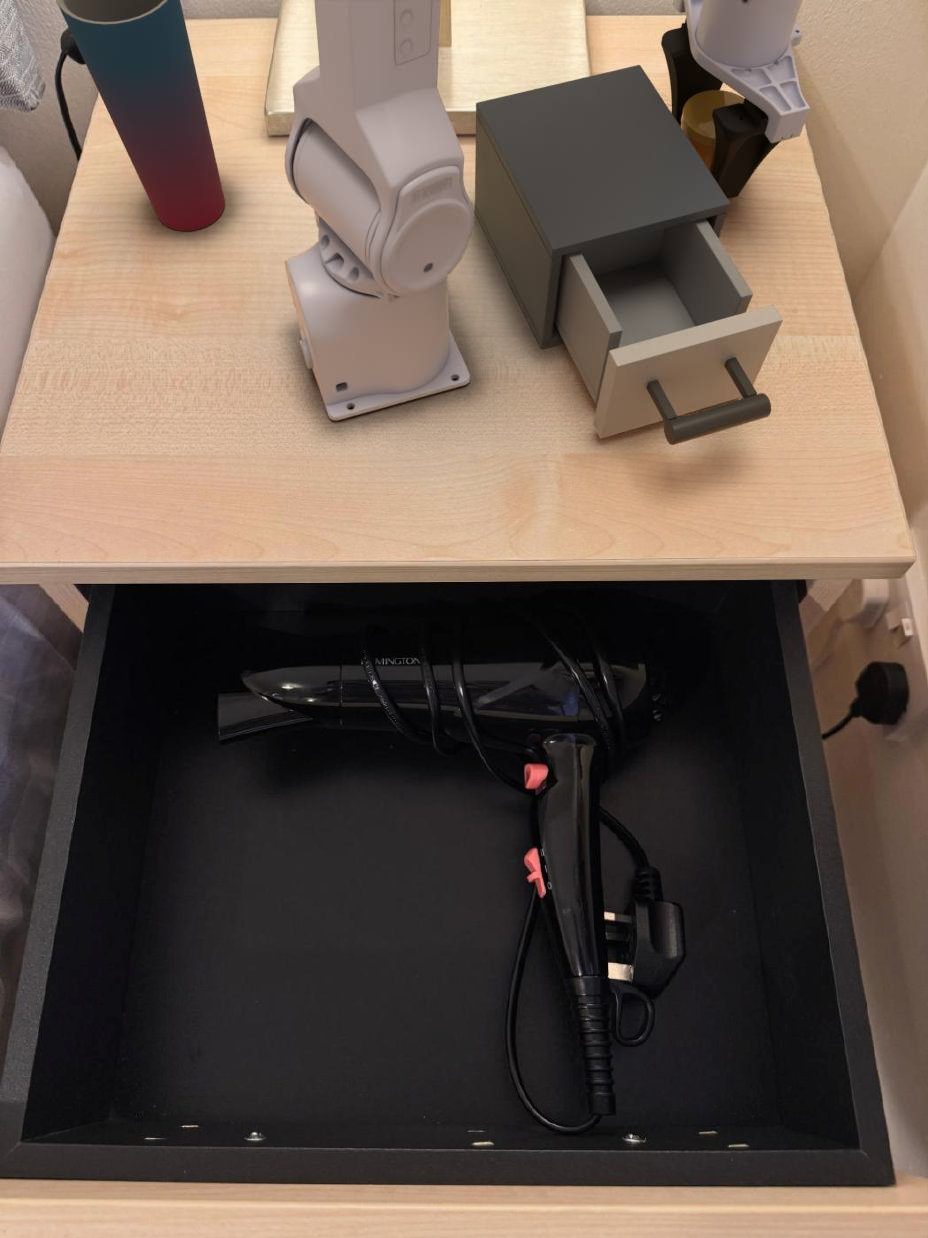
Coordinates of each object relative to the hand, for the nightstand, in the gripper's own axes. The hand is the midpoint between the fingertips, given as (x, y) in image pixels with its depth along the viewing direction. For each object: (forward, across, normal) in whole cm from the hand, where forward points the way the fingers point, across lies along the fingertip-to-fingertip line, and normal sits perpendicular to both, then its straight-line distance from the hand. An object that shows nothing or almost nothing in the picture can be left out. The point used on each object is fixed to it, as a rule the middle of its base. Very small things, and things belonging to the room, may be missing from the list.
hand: (704, 166), depth 63 cm
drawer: (+1, -15, +11) cm, 19 cm away
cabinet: (+1, -4, +11) cm, 12 cm away
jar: (+1, 0, 0) cm, 1 cm away
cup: (+2, +10, +36) cm, 37 cm away
